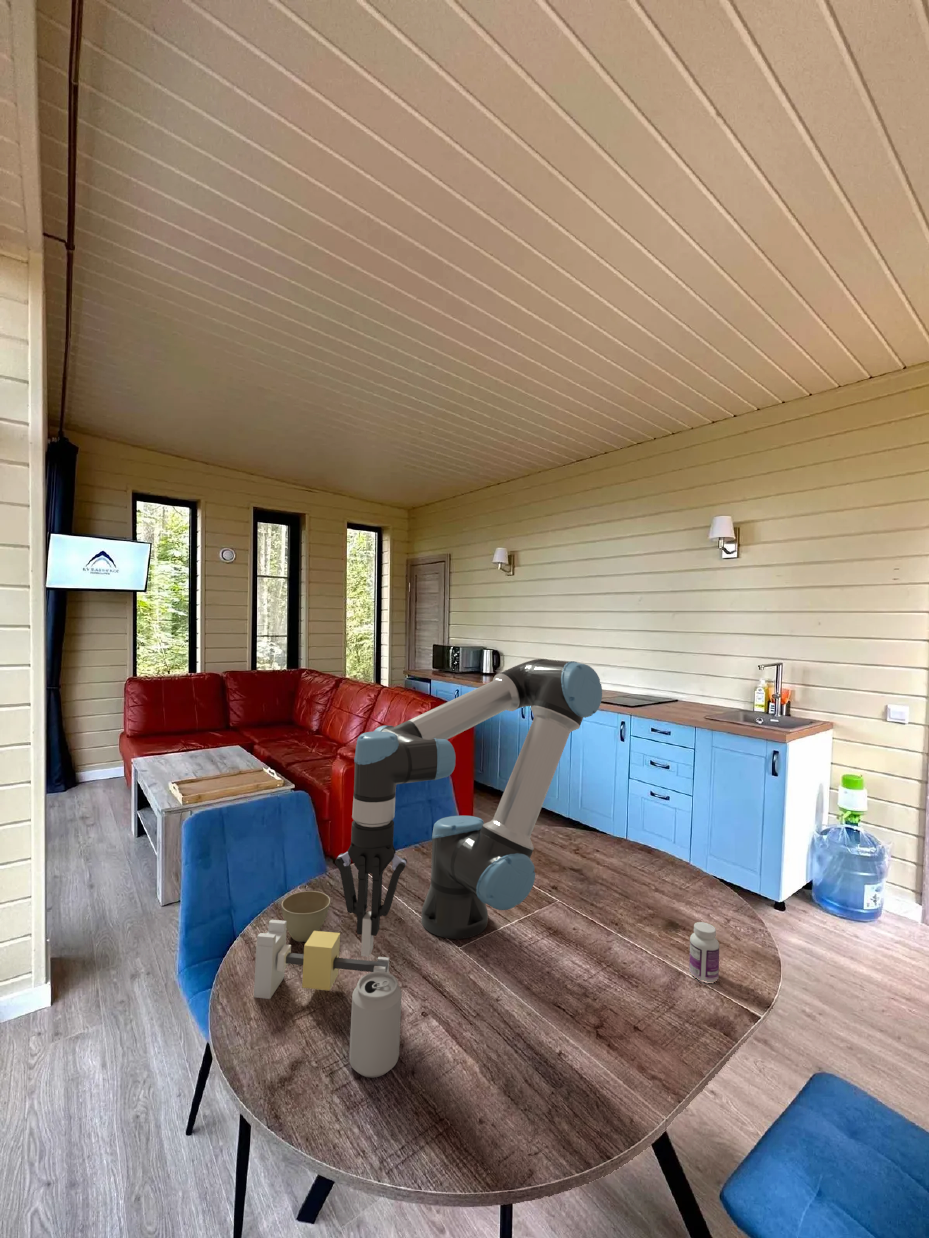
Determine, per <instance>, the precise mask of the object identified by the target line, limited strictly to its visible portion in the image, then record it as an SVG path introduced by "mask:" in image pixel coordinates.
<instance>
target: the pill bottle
mask: <svg viewBox="0 0 929 1238" xmlns="http://www.w3.org/2000/svg"><path fill="white" fill-rule="evenodd" d="M716 936H717V929H716V928H715V926H713V925H712V924H710V923H707V922H704V921H698V922H695V923H694V924H693V932H692V934H691V935H690V937H689V965H688V966H689V967H688V971H689V973H690V972H691V974H692V975H694V976H695V977H696V978H698V979H700V980H704V981H707V982H714V981H716V980H717V979H718V980H719V978H720V977H719V975H720V974H719V973H720V943H719V941H718V939H717V937H716ZM691 974H690V975H691ZM692 975H691V976H692Z"/></svg>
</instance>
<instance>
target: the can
mask: <svg viewBox="0 0 929 1238" xmlns="http://www.w3.org/2000/svg"><path fill="white" fill-rule="evenodd" d="M351 995H352V997H351V1016H350V1033H349V1034H350V1035H349V1036H350V1037H349V1038H350V1039H349V1055H348V1056H349V1064H350V1066H351V1068H352V1069H353V1070H354V1071H355V1072H356V1073H358V1074H360V1075H361V1076H362V1077H365V1078H377V1077H378V1078H379V1077H381V1076H385V1074H386V1073H388V1072H389V1071H390V1070H392V1069H393V1068H394V1067H395V1066H396V1064H397V1062H398V1060H399V1057H400V1040H401V1019H402V1018H401V1016H402V1015H401V1014H402V998H403V997H402V995H403V993H402V988H401V987H400V986H399V981H398V979H397V977H396V976H394V975H393V974H391V973H390V972H389V973H387V972H382V971H377V972H368V973H366V974H365V975H362V976H361V977H360V978H359V980H357V984H356V987H355V988H354V990H353V991H352V994H351Z"/></svg>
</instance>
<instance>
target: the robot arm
mask: <svg viewBox="0 0 929 1238" xmlns="http://www.w3.org/2000/svg"><path fill="white" fill-rule="evenodd" d="M602 698H603V686H602V683H601V680H600V677H599V675H598V673H597V672H596V670H595V669H594V668H592V666H590V665H588V664H586V663H580V662H577V661H565V660H564V661H563V660H556V659H555V660H553V659H547V658H545V659H544V658H538V659H532V660H528V661H526V662H523V663H519V664H517V665H514V666H512V667H510V668H508V669H506V670H504V671H501V672H499V673H497V674H495V675H494V677H493V678H492V681H490V682H488V683H486V684H483V685H481V686H479V687H477V688H475V689H473V690H470V691H469V692H468V691H467V692H466V693H463V694H462V695H460V696H458V697H456V698H454V699H452V700H449V701H447V702H444V703H442V704H440V705H439V706H436V707H434V708H432V709H430V710H428V711H426V712H423V713H422V714H419V715H417V716H415V717H413V718H411V719H409V720H406V721H405V722H402V723H400V724H398V725H395V726H394V725H381V726H377V728H375V730H373V731H367V732H363V733H361V734H360V735H359V736H358V737H357V740H356V745H355V753H354V758H353V760H354V761H353V762H354V778H353V779H354V780H353V782H354V783H353V796H352V797H353V798H352V799H353V801H352V815H351V818H352V820H353V821H352V822H351V833H350V835H351V837H350V839H351V840H350V845H349V848H348V849H347V851H346V852H344V853H343V852H342V853H340V854H339V855H338V856H337V857H336V859H335V860H334V863H335V866H336V867H337V869H338V871H339V874H340V878H341V884H342V885H341V886H342V889H343V895H344V901H345V906H346V911H347V913H348V914H352V913H353V914H355V916H356V918H357V919H356V933H357V935H361V947H360V948H361V949H360V956H361V957H368V958H369V957H370V956H371V953H372V951H373V948H374V937H376V936H378V934H379V930H380V925H381V924H380V922H381V917H386V916H388V914H389V911H390V909H391V907H392V903H393V900H394V897H395V893H396V891H397V886H398V883H399V879H400V876H401V874H402V873H403V871H404V870H405V867H406V866H407V863H408V859H407V858H405V857H403V858H402V857H400V856H398V854H396V853H397V851H396V849H395V846H394V836H395V835H394V833H395V831H394V830H395V821H394V818H395V815H396V813H395V811H396V792H397V791H396V790H397V789H396V788H397V785H403V784H411V783H418V782H425V781H426V782H427V781H437V780H440V779H443V778H447V777H449V776H451V775H452V773H453V772H454V770H455V767H456V752H455V748H454V746H453V744H452V743H451V742H450V741H449V739H452V738H453V737H455V736H457V735H460V734H461V733H463V732H464V731H467V730H469V729H472V728H473V727H475V726H477V725H479V724H481V723H483V722H485V721H487V720H489V719H491V718H493V717H494V716H497V715H499V714H501V713H502V712H505V711H509V712H514V711H516V710H518V709H520V708H524V707H530V710H531V713H532V714H533V719H532V722H531V724H530V726H529V729H528V731H527V734H526V736H525V738H524V742H523V744H522V747H521V749H520V751H519V754H518V757H517V759H516V761H515V763H514V766H513V769H512V770H511V774H510V776H509V778H508V782H507V783H506V785H505V788H504V791H503V793H502V796H501V798H500V801H499V803H498V806H497V809H496V810H495V813H494V816H493V818H492V819H490V820H489V821H487V822H484V820H483V819H482V818H480V817H478V816H473V815H451V816H446V817H442V818H440V819H437V821H436V822H435V823H434V824H433V828H432V829H433V830H432V834H431V835H432V836H431V839H432V840H431V841H432V842H431V843H432V844H431V864H430V865H431V867H430V868H431V870H430V886H429V889H428V891H427V894H426V896H425V900H424V902H423V905H422V907H421V918H420V919H421V924H422V926H423V928H424V929H426V931H427V932H429V933H431V934H432V935H434V936H437V937H439V938H445V939H454V940H458V939H459V940H460V939H462V940H463V939H469V938H472V937H476V936H478V935H479V934H481V933H482V932H484V931H485V930H486V928H487V926H488V920H489V919H488V918H489V917H488V916H489V914H488V908H487V905H488V906H490V907H492V908H493V909H496V910H498V911H508V910H511V909H513V908H515V907H516V906H518V905H520V904H522V903H523V902H524V901H525V899H526V898H527V897H528V896H529V894H530V892H531V890H532V889H533V887H534V884H535V881H536V880H535V879H536V872H535V870H536V869H535V864H534V862H533V861H532V859H531V857H532V855H533V851H534V849H535V848H534V845H533V843H532V840H531V837H532V833H533V831H534V828H535V825H536V822H537V820H538V817H539V815H540V812H541V810H542V807H543V804H544V801H545V799H546V797H547V795H548V792H549V789H550V786H551V783H552V782H553V778H554V775H555V773H556V770H557V767H558V766H559V763H560V760H561V758H562V756H563V755H562V754H563V753H564V750H565V746H566V744H567V742H568V739H569V736H570V733H572V732H573V731H574V732H575V731H577V730H578V729H580V728H581V725H582V722H583V720H584V718H589V717H591V716H593V714H596V713H597V712H598V710H599V709H600V706H601V703H602V700H603V699H602ZM351 862H352V863H353V864H354V866H355V868H356V869H357V871H358V872H357V880H358V881H357V882H358V883H357V893H356V888H355V881H354V878H353V872H352V871H353V870H352V867H351ZM391 863H392V865H391V869H392V870H393V872H392V873H391V877H390V880H389V884H388V888H387V891H386V895H385V897H384V900H383V901H384V902H383V904H382V895H383V894H382V893H383V892H382V890H383V874H384V871H385V869H386V868H387V867H388V866H389V865H390V864H391ZM369 874H372V875H371V876H372V877H371V880H372V887H371V906H370V907H371V910H370V911H368V910H367V909H368V907H369V905H368V897H369V896H368V894H369Z"/></svg>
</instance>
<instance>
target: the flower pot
mask: <svg viewBox="0 0 929 1238" xmlns="http://www.w3.org/2000/svg"><path fill="white" fill-rule="evenodd" d="M330 906H331V898H330V897H329V895H328V894H326V893H324V892H321V891H318V890H307V891H306V890H302V891H298V892H295V893H292V894H289V895H288V896H285V898H283V900H282V902H281V914H282V917H283V918H282V919H283V921H287V922H286V929H287V930H286V931H287V932H288V933H289V935H290V937H291V938H292V939H293V941H296V942H298V943H306V942H307V941H308V939H309V937H310V936H311V934H312V933H313V931H321V929H322V927H323V925H324V923H325V921H326V918H327V915H328V913H329V909H330Z"/></svg>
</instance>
